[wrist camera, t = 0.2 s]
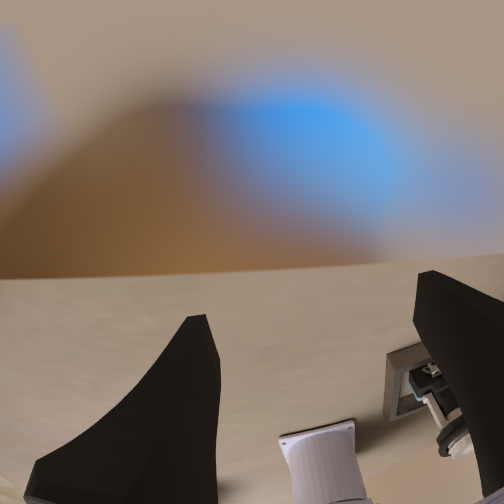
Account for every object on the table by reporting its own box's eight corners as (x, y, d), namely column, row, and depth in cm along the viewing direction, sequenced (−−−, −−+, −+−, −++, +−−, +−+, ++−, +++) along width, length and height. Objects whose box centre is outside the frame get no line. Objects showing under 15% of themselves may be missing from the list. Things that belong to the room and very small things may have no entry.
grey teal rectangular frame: (532, 343, 27) (541, 352, 26) (382, 413, 29) (388, 427, 27) (552, 282, 23) (562, 291, 22) (386, 354, 25) (394, 370, 23)
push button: (464, 334, 25) (517, 408, 16) (458, 369, 27) (501, 438, 18) (405, 361, 25) (449, 448, 16) (404, 393, 28) (439, 472, 19)
